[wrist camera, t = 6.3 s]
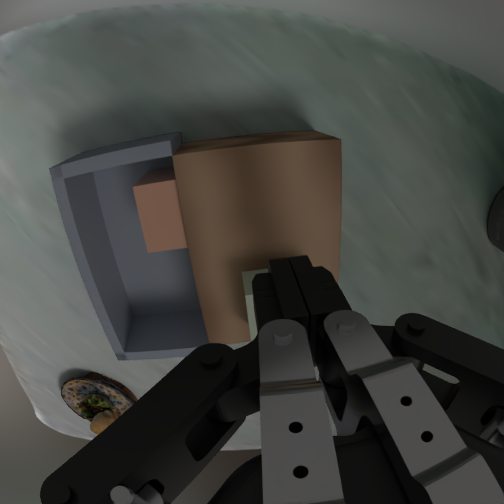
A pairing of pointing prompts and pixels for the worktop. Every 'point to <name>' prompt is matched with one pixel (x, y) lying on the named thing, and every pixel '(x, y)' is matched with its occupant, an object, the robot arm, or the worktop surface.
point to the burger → (97, 399)
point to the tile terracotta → (160, 210)
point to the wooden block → (256, 214)
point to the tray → (128, 252)
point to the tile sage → (250, 299)
